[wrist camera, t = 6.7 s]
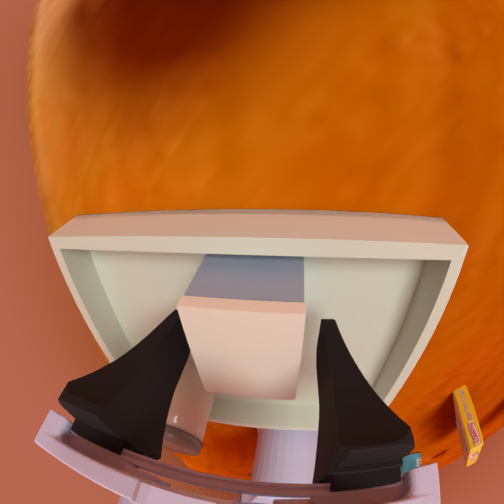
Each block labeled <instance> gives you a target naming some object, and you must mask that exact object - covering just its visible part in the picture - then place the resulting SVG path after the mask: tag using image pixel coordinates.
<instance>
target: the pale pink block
mask: <svg viewBox="0 0 504 504" xmlns="http://www.w3.org/2000/svg"><path fill="white" fill-rule="evenodd" d="M176 306H177V310H178V313H179V316H180V320H181V323H182V326H183V329H184V332H185V335H186V338H187V341H188V344H189V347H190V350H191V353H192V356H193V359H194V362H195V365H196V367H197V370H198V373H199V376H200V378H201V381H202V384H203V386H204V389H205V391H207V392H214V393H221V394H228V395H236V396H245V397H255V398H267V399H282V400H295V397H296V391H297V384H298V377H299V369H300V362H301V354H302V346H303V337H304V328H305V319H306V302H304V257H302V256H266V255H232V254H206V255H205V257H204V259H203V261H202V263H201V264H200V266H199V268H198V270H197V272H196V273H195V275H194V277H193V279H192V281H191V283H190V285H189V286H188V288H187V290H186V292H185V294H184V295H182V296H181V298H180V299H179V301H178V303H177V305H176Z"/></svg>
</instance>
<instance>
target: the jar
mask: <svg viewBox="0 0 504 504" xmlns="http://www.w3.org/2000/svg"><path fill="white" fill-rule="evenodd" d="M215 394H216V393H214V392H207V391H205V389H204V386H203V384H202V381H201V378H200V376H199V373H198V370H197V367H196V365H195V362H194V361H191V360H187V362H186V365H185V367H184V370H183V372H182V375H181V377H180V379H179V382H178V384H177V387H176V389H175V392H174V395H173V398H172V402H171V405H170V409H169V413H168V418H167V422H166V427H165V432H164V437H163V444H162V448H165V449H168V450H171V451H173V452H177V453H181V454H186V455H199V454H200V453H201V449H202V446H203V443H202V441H203V437H204V433H205V430H206V426H207V423H208V419H209V415H210V412H211V408H212V405H213V401H214V398H215Z"/></svg>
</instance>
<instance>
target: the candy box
mask: <svg viewBox="0 0 504 504" xmlns="http://www.w3.org/2000/svg"><path fill="white" fill-rule="evenodd" d="M452 393H453V401H454V409H455V416H456V426H457V430H458V434H459V438H460V442H461V446H462V450H463V455H464V459H465V464H466V467H467V466H469V465H471V464H473V463H474V462H476V460H477V457H478V455H479V452H480V450H481V448H482V445H483V438H482V433H481V430H480V426H479V423H478V419H477V416H476V413H475V409H474V406H473V403H472V401H471V398H470V395H469V392H468V390H467V387H466V385H464V386H462V387H460V388H458V389H456V390H455V391H453V392H452Z"/></svg>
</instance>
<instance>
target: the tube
mask: <svg viewBox="0 0 504 504" xmlns="http://www.w3.org/2000/svg"><path fill="white" fill-rule="evenodd" d="M402 460H403V465H402V466H401V467H400V469H401V474H404V473H405V472H407V471H408V470H410V469H413V468H416V467H420V466H422V462H421V454H420V453H414V454H410V455H407V456H405V457H403V458H402Z"/></svg>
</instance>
